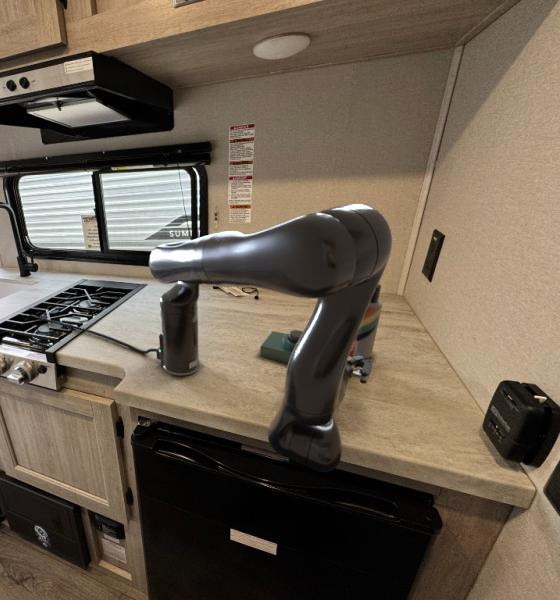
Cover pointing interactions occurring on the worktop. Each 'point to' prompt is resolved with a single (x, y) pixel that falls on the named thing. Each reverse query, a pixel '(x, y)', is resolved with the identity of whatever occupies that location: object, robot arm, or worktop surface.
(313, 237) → the robot arm
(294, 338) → the dark brown disc
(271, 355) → the button base
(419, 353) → the worktop surface
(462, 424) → the worktop surface
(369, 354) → the spray can
